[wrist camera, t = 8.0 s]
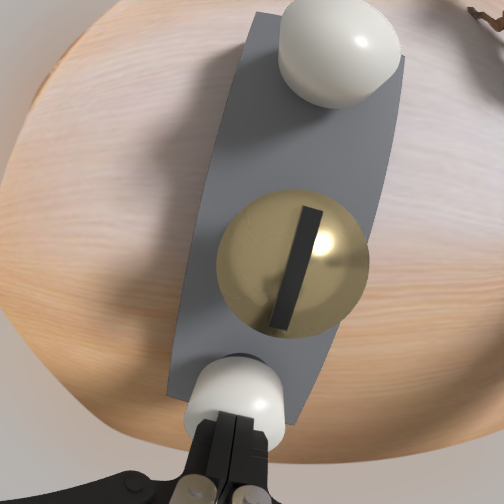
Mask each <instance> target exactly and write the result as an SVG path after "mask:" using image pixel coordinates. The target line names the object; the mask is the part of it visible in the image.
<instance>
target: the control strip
mask: <svg viewBox="0 0 504 504" xmlns="http://www.w3.org/2000/svg"><path fill="white" fill-rule="evenodd" d="M281 19H282V16H279V15H274V14H268V13H262V12H256V14H255V17H254V20H253V22H252V25H251V28H250V31H249V34H248V37H247V40H246V43H245V46H244V49H243V52H242V55H241V58H240V61H239V64H238V67H237V70H236V73H235V77H234V80H233V83H232V86H231V90H230V93H229V96H228V100H227V103H226V106H225V110H224V113H223V117H222V120H221V124H220V128H219V131H218V135H217V139H216V142H215V146H214V150H213V154H212V158H211V162H210V165H209V169H208V173H207V177H206V182H205V186H204V190H203V194H202V198H201V203H200V207H199V211H198V216H197V220H196V225H195V229H194V234H193V239H192V244H191V248H190V253H189V258H188V263H187V268H186V273H185V279H184V284H183V289H182V295H181V301H180V306H179V312H178V318H177V324H176V330H175V337H174V343H173V350H172V356H171V363H170V371H169V378H168V386H167V394H166V395H167V396H170V397H173V398H176V399H179V400H183V401H186V402H189V401H190V398H191V395H192V393H193V390H194V387H195V384H196V382H197V379H198V376H199V375H200V373H201V371H202V370H203V369H204V368H205V367H206V366H207V365H209V364H210V363H212V362H214V361H216V360H218V359H222V358H226V357H246V358H251V359H254V360H257V361H260V362H262V363H264V364H266V365H267V366H269V367H270V368H271V369H272V370H273V371H274V372H275V373H276V374H277V375H278V377H279V378H280V380H281V383H282V386H283V399H284V418H285V424H289V425H294V424H295V422H296V421H297V419H298V417H299V415H300V413H301V411H302V409H303V407H304V404H305V402H306V400H307V398H308V396H309V394H310V392H311V390H312V388H313V385H314V383H315V381H316V379H317V377H318V374H319V372H320V370H321V368H322V365H323V363H324V361H325V358H326V356H327V354H328V351H329V349H330V347H331V344H332V342H333V339H334V337H335V334H336V332H337V329H338V327H339V324H340V322H341V321H340V322H339V323H338V324H337V325H335V326H333V327H332V328H330V329H329V330H326V331H324V332H322V333H320V334H317V335H314V336H311V337H306V338H298V339H283V338H277V337H272V336H268V335H265V334H263V333H260V332H258V331H256V330H254V329H252V328H251V327H249V326H248V325H246V324H245V323H244V322H242V321H241V320H240V319H239V318H238V317H237V316H236V315H235V314H234V313H233V312H232V310H231V309H230V308H229V306H228V305H227V303H226V301H225V299H224V298H223V295H222V293H221V290H220V287H219V284H218V280H217V272H216V259H217V253H218V248H219V245H220V241H221V238H222V236H223V234H224V232H225V230H226V228H227V227H228V225H229V224H230V222H231V221H232V220H233V218H234V217H235V216H236V215H237V214H238V213H239V212H240V211H241V210H242V209H243V208H244V207H245V206H247V205H248V204H250V203H251V202H253V201H254V200H256V199H257V198H259V197H261V196H263V195H265V194H268V193H271V192H275V191H280V190H290V189H299V190H308V191H313V192H317V193H320V194H322V195H325V196H327V197H329V198H331V199H333V200H335V201H336V202H338V203H339V204H340V205H342V206H343V207H344V208H345V209H346V210H347V211H348V212H349V213H350V214H351V215H352V216H353V217H354V219H355V220H356V221H357V223H358V224H359V226H360V228H361V229H362V232H363V234H364V236H365V239H366V242H367V243H368V239H369V236H370V233H371V229H372V226H373V222H374V218H375V215H376V211H377V207H378V203H379V200H380V196H381V192H382V188H383V183H384V179H385V175H386V171H387V166H388V161H389V157H390V152H391V147H392V142H393V137H394V131H395V126H396V120H397V114H398V108H399V101H400V94H401V87H402V79H403V71H404V61H405V56H403V55H401V58H400V63H399V65H398V68H397V69H396V71H395V72H394V74H393V75H392V76H391V77H390V78H389V79H388V80H386V81H385V82H384V83H383V84H382V85H381V86H380V87H379V88H377V89H376V90H375V91H374V92H373V93H372V94H371V95H370V96H369V97H367V98H366V99H365V100H364V101H363V102H361V103H359V104H357V105H355V106H352V107H349V108H343V109H331V108H324V107H320V106H317V105H314V104H312V103H310V102H308V101H306V100H304V99H303V98H301V97H300V96H298V95H297V94H296V93H295V92H293V91H292V90H291V89H290V87H289V86H288V85H287V84H286V82H285V81H284V79H283V77H282V75H281V73H280V69H279V64H278V53H279V38H280V23H281Z"/></svg>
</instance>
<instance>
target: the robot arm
mask: <svg viewBox="0 0 504 504" xmlns="http://www.w3.org/2000/svg"><path fill="white" fill-rule="evenodd" d="M253 429H254V418H251V417H246V416H241V415H237V416H236V414H232V413H228V412H223V411H219V413H218V417H217V420H216V421H212V420H208V419H203V420H202V421H201V422H200V423H199V424H198V425H197V428H196V431H195V434H194V438H193V441H192V445H191V448H190V451H189V455H188V459H187V462H186V465H185V469H184V471H183V473H182V474H181V475H180V476H179V477H178V478H176V479H174V480H170V481H156V480H150V478H149V477H147V476H146V475H145V474H143V473H140V472H138V471H130V470H129V471H124V472H121V473H118V474H115V475H112V476H109V477H106V478H104V479H100V480H97V481H94V482H90V483H87V484H83V485H80V486H76V487H73V488H69V489H65V490H61V491H57V492H52V493H48V494H43V495H38V496H32V497H27V498H21V499H14V500H6V501H0V504H216V502H217V504H281V503H279V502H277V501H276V500H274V499H273V498H272V497H271V495H270V494H269V492H268V489H267V475H268V460H267V459H268V440H267V438H266V436H265V434H264V432H263V431H258V430H253ZM217 500H218V501H217Z"/></svg>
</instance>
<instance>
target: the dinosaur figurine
mask: <svg viewBox="0 0 504 504" xmlns="http://www.w3.org/2000/svg"><path fill="white" fill-rule="evenodd" d="M468 8H469V10H468V11H469V12H470V13H471V14H472V15H473V17H475V18H478V19H481V18H482V19H483V20H485V21H487V22H488V23H489V24H490V25H491V27H492V28H493V29H494V30H495V31H497V32H501V31H502V30H504V11H503V17H500V18H498V19H497V20H495V19H493V18H491V17H490V16H488V15H487V14H486V13H484V12H477V11H476V10H475V9H474V8H473V7H468Z"/></svg>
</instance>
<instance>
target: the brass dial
mask: <svg viewBox="0 0 504 504" xmlns="http://www.w3.org/2000/svg"><path fill="white" fill-rule="evenodd" d="M216 272H217V280H218V284H219V287H220V290H221V293H222V295H223V298H224V299H225V301H226V303H227V305H228V306H229V308H230V309H231V310H232V312H233V313H234V314H235V315H236V316H237V317H238V318H239V319H240V320H241V321H242V322H244V323H245V324H246V325H248V326H249V327H251V328H252V329H254V330H256V331H258V332H260V333H263V334H265V335H268V336H272V337H277V338H283V339H298V338H306V337H311V336H314V335H317V334H320V333H322V332H324V331H326V330H329V329H330V328H332V327H333V326H335V325H337V324H338V323H339V322H340V321H342V320H343V319H344V318H345V317H346V316H347V315H348V314H349V313H350V312H351V311H352V309H353V308H354V307H355V306H356V304H357V303H358V301H359V299H360V297H361V296H362V293H363V291H364V289H365V286H366V282H367V279H368V273H369V252H368V246H367V242H366V239H365V236H364V234H363V232H362V229H361V228H360V226H359V224H358V223H357V221H356V220H355V219H354V217H353V216H352V215H351V214H350V213H349V212H348V211H347V210H346V209H345V208H344V207H343V206H342V205H340V204H339V203H338V202H336V201H335V200H333V199H331V198H329V197H327V196H325V195H322V194H320V193H317V192H313V191H308V190H299V189H290V190H280V191H275V192H271V193H268V194H265V195H263V196H261V197H259V198H257V199H256V200H254V201H253V202H251V203H250V204H248V205H247V206H245V207H244V208H243V209H242V210H241V211H240V212H239V213H238V214H237V215H236V216H235V217H234V218H233V220H232V221H231V222H230V224H229V225H228V227H227V228H226V230H225V232H224V234H223V236H222V238H221V241H220V245H219V248H218V253H217V259H216Z"/></svg>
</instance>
